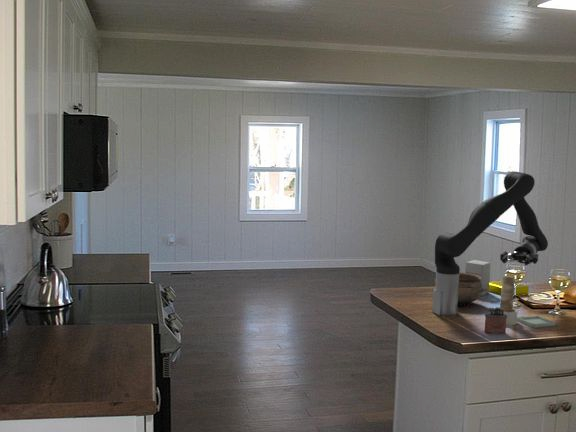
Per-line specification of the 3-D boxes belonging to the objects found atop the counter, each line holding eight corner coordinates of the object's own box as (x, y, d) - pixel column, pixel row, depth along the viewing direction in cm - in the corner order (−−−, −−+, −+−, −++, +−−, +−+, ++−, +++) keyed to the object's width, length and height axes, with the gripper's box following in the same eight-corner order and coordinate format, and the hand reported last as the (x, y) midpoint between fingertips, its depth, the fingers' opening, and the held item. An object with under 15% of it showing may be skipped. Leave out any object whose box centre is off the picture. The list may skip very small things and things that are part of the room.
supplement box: (471, 290, 310) (473, 259, 309) (489, 293, 305) (491, 262, 303) (463, 293, 303) (465, 261, 302) (481, 296, 298) (483, 264, 296)
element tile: (483, 290, 311) (484, 281, 310) (506, 288, 318) (506, 278, 317) (506, 297, 298) (507, 287, 297) (530, 295, 305) (530, 285, 304)
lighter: (503, 333, 240) (505, 306, 239) (507, 335, 237) (509, 309, 235) (482, 332, 240) (484, 306, 239) (485, 335, 236) (487, 308, 235)
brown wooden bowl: (423, 301, 285) (424, 274, 283) (443, 294, 299) (445, 269, 297) (476, 312, 268) (477, 284, 267) (495, 305, 282) (497, 277, 281)
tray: (532, 329, 246) (533, 324, 246) (514, 321, 256) (515, 316, 256) (556, 327, 249) (557, 323, 249) (538, 320, 259) (538, 315, 259)
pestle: (503, 323, 250) (507, 278, 248) (496, 320, 255) (499, 275, 253) (514, 323, 252) (517, 278, 250) (506, 319, 256) (509, 275, 254)
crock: (502, 326, 248) (503, 312, 248) (490, 321, 256) (491, 307, 255) (520, 325, 251) (521, 311, 250) (507, 319, 258) (508, 306, 258)
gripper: (507, 242, 275) (496, 251, 262) (542, 245, 267) (533, 254, 254) (507, 259, 277) (496, 269, 264) (542, 262, 269) (532, 272, 256)
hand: (514, 261), depth 259 cm, fingers open, 8 cm apart
